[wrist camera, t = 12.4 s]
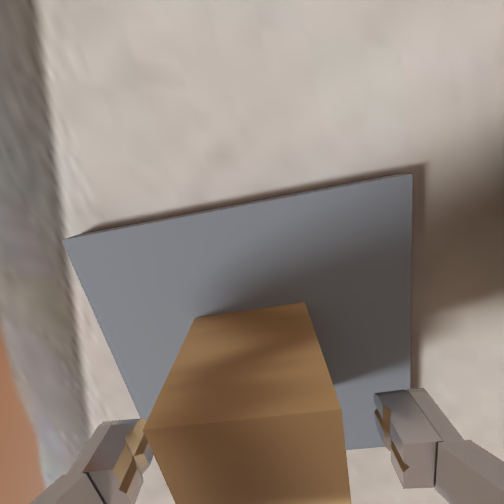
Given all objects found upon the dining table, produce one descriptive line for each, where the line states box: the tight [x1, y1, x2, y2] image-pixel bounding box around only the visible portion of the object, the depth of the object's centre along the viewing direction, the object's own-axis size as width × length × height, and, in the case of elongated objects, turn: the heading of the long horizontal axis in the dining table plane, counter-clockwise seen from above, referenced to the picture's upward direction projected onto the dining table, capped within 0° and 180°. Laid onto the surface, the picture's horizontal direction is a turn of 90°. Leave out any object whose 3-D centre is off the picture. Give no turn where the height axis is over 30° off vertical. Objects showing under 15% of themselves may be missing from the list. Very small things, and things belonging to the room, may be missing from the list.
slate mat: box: [62, 174, 413, 450], centre depth 12 cm, size 14×14×1 cm
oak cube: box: [143, 302, 351, 504], centre depth 9 cm, size 5×5×5 cm
